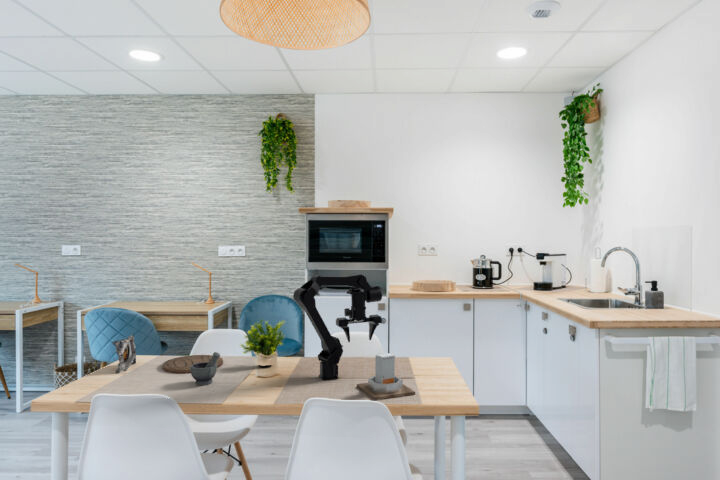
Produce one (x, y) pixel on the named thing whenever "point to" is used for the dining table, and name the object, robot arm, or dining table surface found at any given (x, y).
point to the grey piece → (125, 353)
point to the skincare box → (385, 368)
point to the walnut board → (378, 396)
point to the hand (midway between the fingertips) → (359, 341)
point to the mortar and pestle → (205, 371)
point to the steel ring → (385, 385)
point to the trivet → (187, 363)
